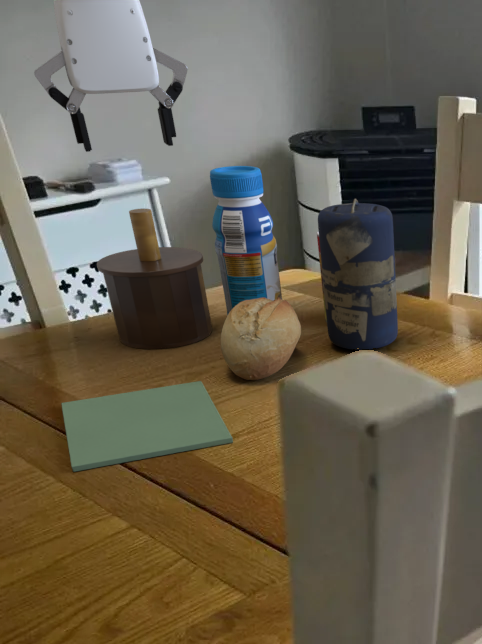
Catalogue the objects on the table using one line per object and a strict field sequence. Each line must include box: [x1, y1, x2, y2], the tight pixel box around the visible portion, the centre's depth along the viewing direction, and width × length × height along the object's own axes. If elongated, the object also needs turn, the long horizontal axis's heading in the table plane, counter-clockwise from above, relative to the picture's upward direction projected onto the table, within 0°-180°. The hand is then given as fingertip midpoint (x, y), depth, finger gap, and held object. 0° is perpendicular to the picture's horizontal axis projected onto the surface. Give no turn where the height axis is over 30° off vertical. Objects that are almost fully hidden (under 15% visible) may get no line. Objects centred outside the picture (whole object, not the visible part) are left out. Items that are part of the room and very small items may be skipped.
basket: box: [102, 263, 213, 350], centre depth 114 cm, size 13×13×10 cm
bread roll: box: [220, 297, 302, 381], centre depth 104 cm, size 10×15×8 cm, turn 0°
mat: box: [60, 380, 234, 473], centre depth 91 cm, size 16×18×1 cm
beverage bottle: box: [209, 165, 283, 317], centre depth 115 cm, size 8×8×20 cm
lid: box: [96, 208, 204, 277], centre depth 109 cm, size 14×14×7 cm
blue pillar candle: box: [317, 198, 399, 351], centre depth 107 cm, size 10×10×18 cm
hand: (129, 147), depth 103 cm, fingers open, 9 cm apart
